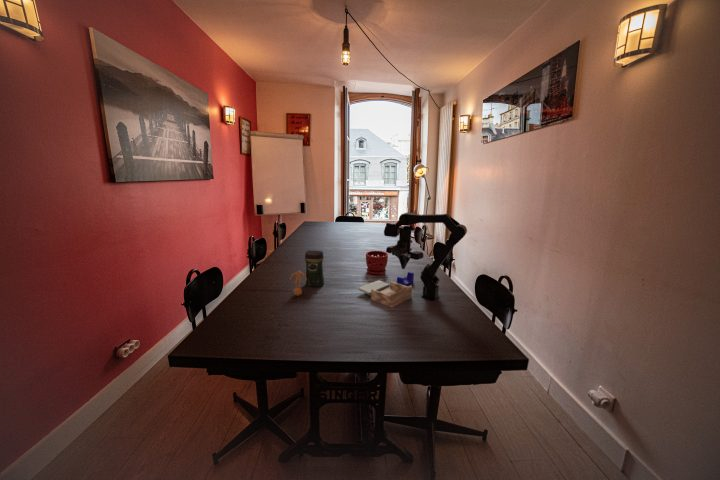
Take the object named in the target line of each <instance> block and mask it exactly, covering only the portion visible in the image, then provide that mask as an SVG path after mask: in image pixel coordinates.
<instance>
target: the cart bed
mask: <svg viewBox="0 0 720 480" xmlns="http://www.w3.org/2000/svg"><path fill="white" fill-rule="evenodd" d="M389 286H390V287H388V288H386V289H384V290H381V291H376V290H374V289H371V295H370V300H372V301H373V302H376V303H379V304H382V305H384V306H387V307H389V308H395V307H396V306H398V305H400V304H401V303H403V302H404V303H405V302H406V301H407V300H410V299H412V293H413V286H412V285H408V286H404V285H401V284H398V283H397V282H395V281H390V282H389Z"/></svg>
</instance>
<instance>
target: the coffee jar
mask: <svg viewBox="0 0 720 480" xmlns="http://www.w3.org/2000/svg"><path fill="white" fill-rule="evenodd" d="M324 257H325V256H324V251H323V250H311V249H308V250H306V251H305V254H304V261H305V267H306V268H305V276H306V278H307V281H306V278H304V279H305V281H304V282H305V283H304V284H305V285H306V286H307V287H314V288H315V287H317V288H319V287H322V286H324V283H325V278H324V277H325V276H324V268H323V263H324V262H323V261H324Z"/></svg>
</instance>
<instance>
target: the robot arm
mask: <svg viewBox="0 0 720 480" xmlns="http://www.w3.org/2000/svg"><path fill="white" fill-rule="evenodd" d="M439 223H440V224H443V225H444V226H445V228H446V229H447V230H448V231H449V232H450V234H449V236H448V239H447V241H446V243H445V244H444V245H443V247H442V248H441V250H440V251H439V253H438V254H437V256H436V257H435V258H434V260H433V261H432V263H431V264H430V263H427V264H426V265H425V266H424V268H423V270H422V271H421V272H420V280H421V282H422V284H423V287H422V295H421V298H423V299H425V300H429V301H432V302H433V301H435V300H437V299H439V298H440V295H439V289H440V286H439V285H438V284H439V283H440V280H441V279H440V278H439V277H438V276H437V274H438V272H439V268H440V266H441V265H442V264H443V262H444V261H445V259H447V257H448V255H449V254H450V252H452V250H453V249H454V247H455V245H457V244H458V243H459V242H460V241H461V240H462V239H463V238H464V237H465V236H466V235H467V233H468V229H467V226H466V225H464V224H460V222H458V221H457V220H456V219H454V218H453V217H452V216H451V215H450V214H449V213H439V214H438V213H437V214H435V213H434V214H432V213H431V214H419V213H416V212H415V213H414V212H403V213H402V214H400V216H399V217H398V221H397V222H396V223H392V222H386V223H385V226H384V229H383V235H384V237H389V238H390V237H391V238H397V237H398V238H399V239H398V240H397V241H396V244H395V245H390V246H387V247H386V249H385V252H386V253H387V254H391V255H392V256H395V257H396V258H398V260H399V262H400V263H399V264H400V267H401V269H402V270H405V268H406V267H407V265H408V263H409V261H410V260H411V259H412V260H415V261H417V260H421V259H424V253H423V251H418V250H415V251H413V250H412V249H413V248H411V246H412V245H411V244H412V243H413V240H412V232H414V231H416V230H417V228H416V227H415V226H414V225H415V224H439Z"/></svg>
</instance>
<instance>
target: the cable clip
mask: <svg viewBox="0 0 720 480" xmlns="http://www.w3.org/2000/svg"><path fill="white" fill-rule="evenodd" d="M414 275H415V273H414V272H412V271H408V272H407V275H406V276H404V277H402V276H399V275H398V276H397V277H396V283H398V284H401V285H404V286H407V287H408V286H411V285H413V284H414V278H415V276H414Z"/></svg>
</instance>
